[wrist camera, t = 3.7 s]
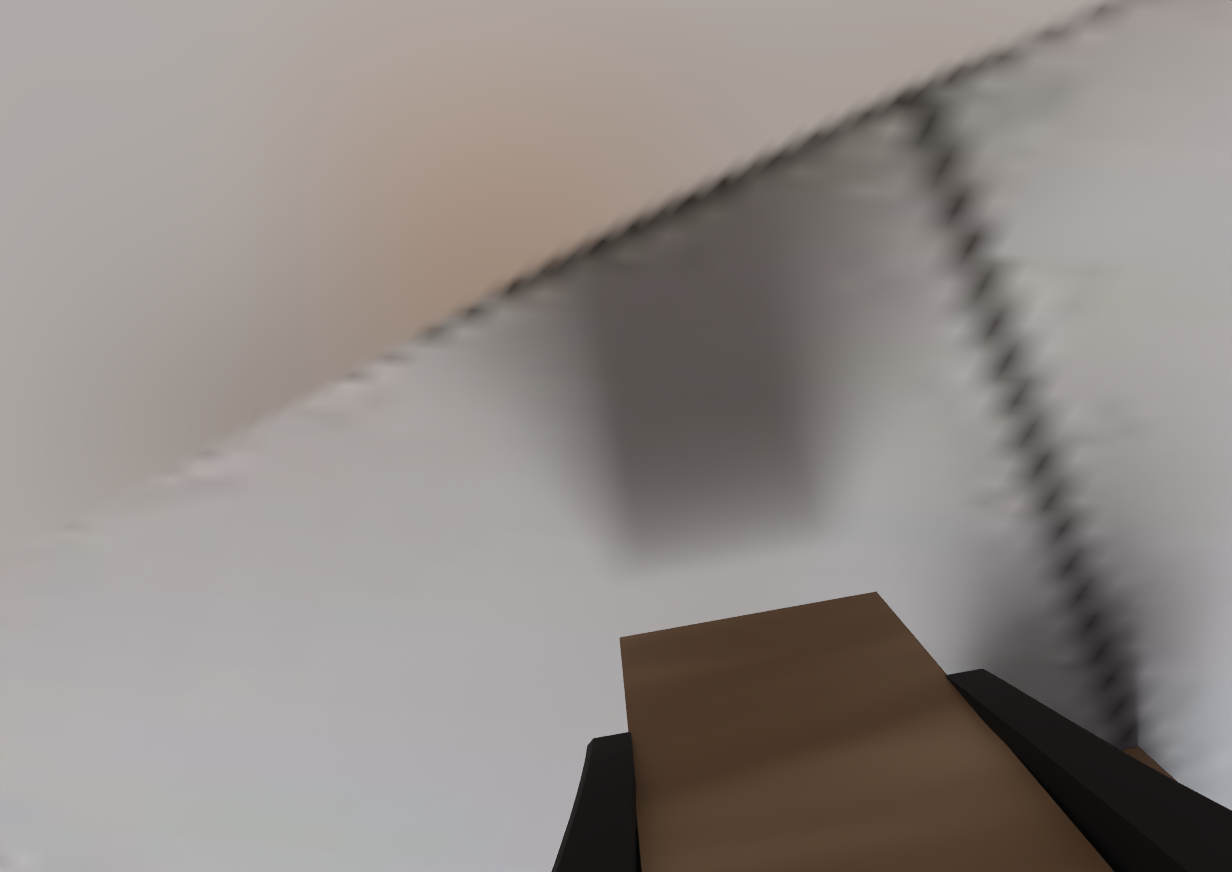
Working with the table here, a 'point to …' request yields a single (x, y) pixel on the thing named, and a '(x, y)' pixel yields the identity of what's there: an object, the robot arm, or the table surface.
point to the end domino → (825, 753)
